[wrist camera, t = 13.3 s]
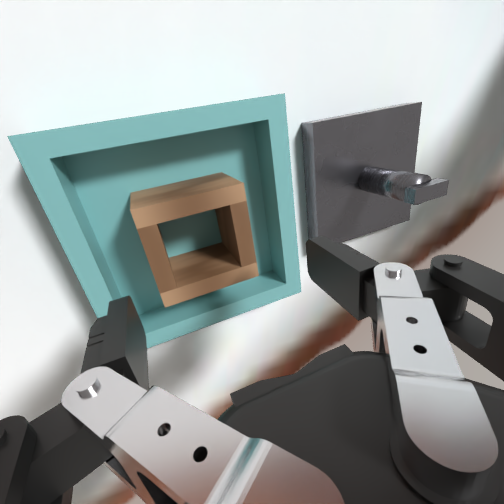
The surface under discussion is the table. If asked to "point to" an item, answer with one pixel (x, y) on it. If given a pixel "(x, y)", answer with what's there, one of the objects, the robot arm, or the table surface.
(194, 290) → the walnut collar
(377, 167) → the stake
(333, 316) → the table surface
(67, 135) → the tray
